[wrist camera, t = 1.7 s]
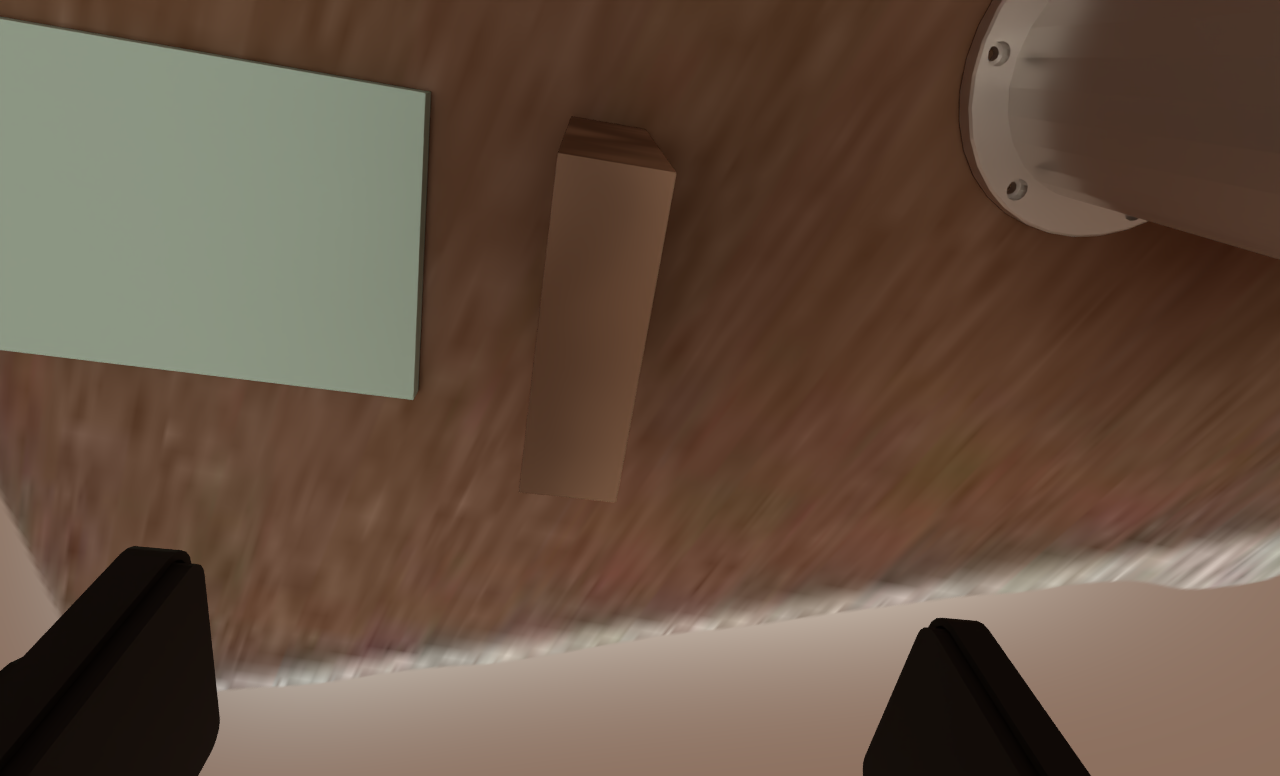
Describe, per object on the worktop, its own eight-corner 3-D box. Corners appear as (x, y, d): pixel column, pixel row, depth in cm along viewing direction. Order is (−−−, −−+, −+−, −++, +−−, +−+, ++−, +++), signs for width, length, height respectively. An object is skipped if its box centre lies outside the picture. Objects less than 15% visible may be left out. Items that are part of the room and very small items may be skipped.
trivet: (430, 91, 28) (425, 93, 27) (418, 390, 33) (413, 399, 32) (-145, -9, 25) (-172, -11, 24) (-58, 331, 30) (-78, 340, 29)
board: (645, 129, 29) (676, 172, 18) (608, 354, 33) (616, 502, 22) (571, 116, 28) (557, 152, 17) (543, 346, 32) (518, 492, 22)
